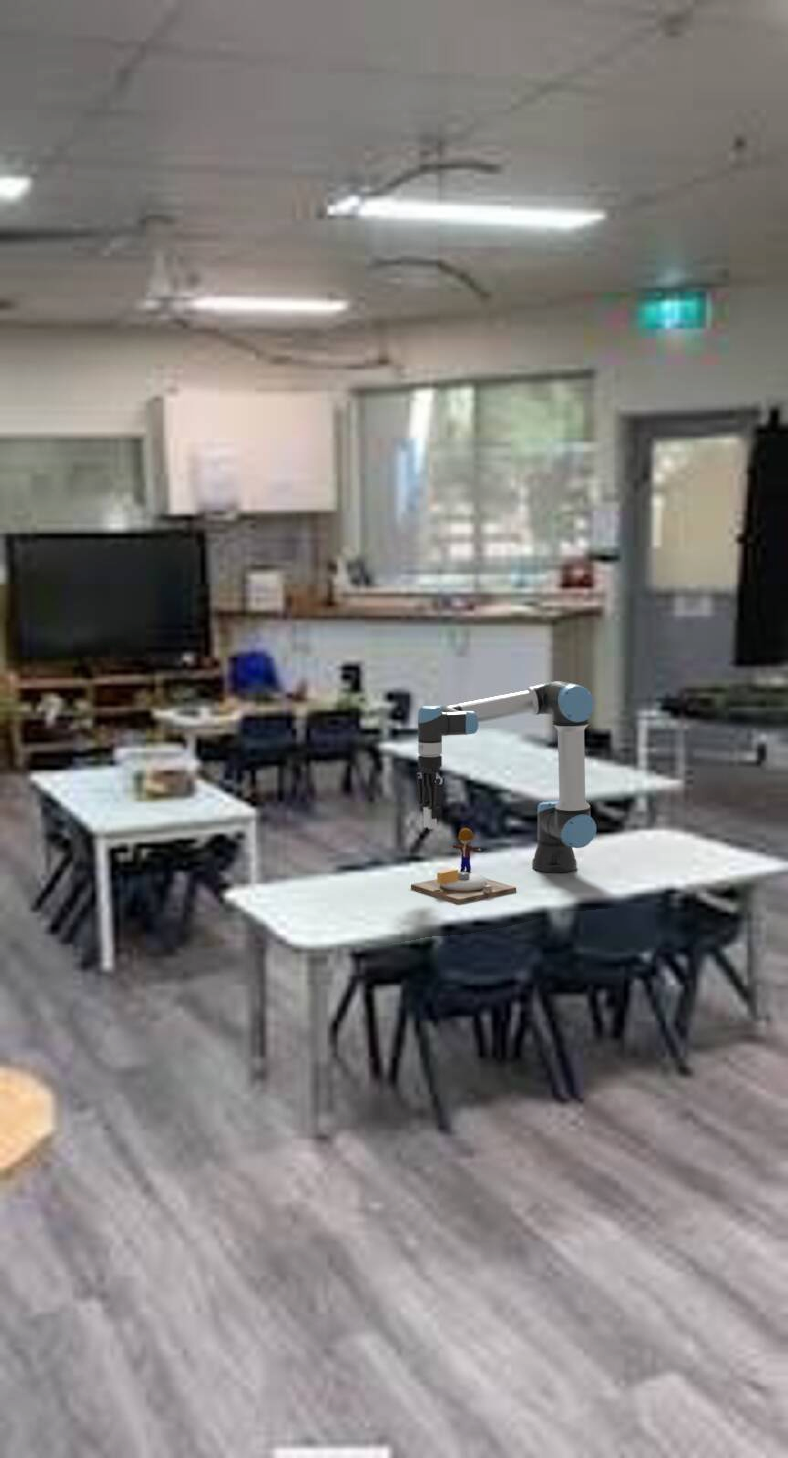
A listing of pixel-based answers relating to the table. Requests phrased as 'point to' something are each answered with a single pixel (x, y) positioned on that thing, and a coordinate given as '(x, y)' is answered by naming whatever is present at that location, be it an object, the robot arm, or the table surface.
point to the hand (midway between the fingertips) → (430, 827)
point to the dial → (460, 880)
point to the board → (463, 896)
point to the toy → (465, 848)
